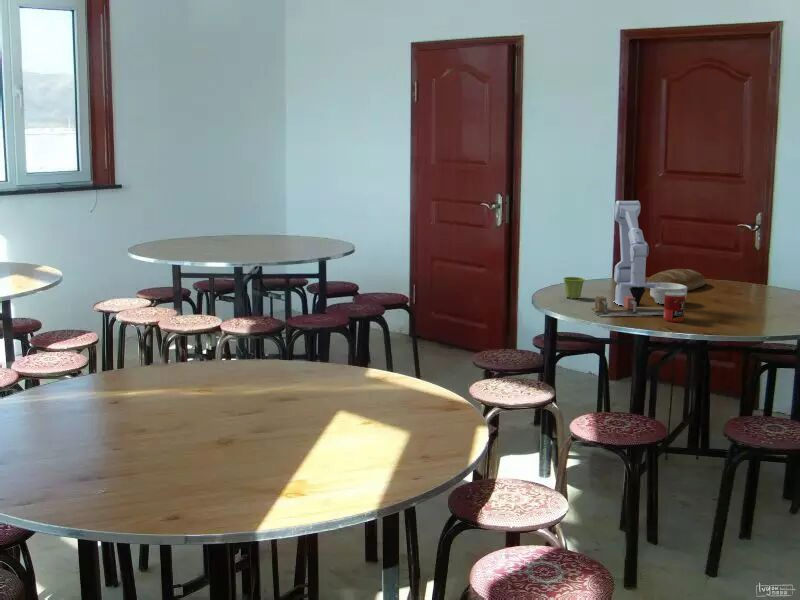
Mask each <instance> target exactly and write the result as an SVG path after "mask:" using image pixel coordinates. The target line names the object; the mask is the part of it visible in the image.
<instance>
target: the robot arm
mask: <svg viewBox="0 0 800 600" xmlns="http://www.w3.org/2000/svg"><path fill="white" fill-rule="evenodd" d="M641 208H642V207H641V202H640V201H639V200H616V202H615V203H614V207H613V210H614V213H613V214H614V221H615V222H617V223H618V226H619V243H620V244H619V245H620V261H619V262H617V264H615V266H614V273H613V278H614V282H615V283H616V286H615V291H614V300H612V302H613V303H614V302H615V303H616V305H617V304H618V305H617V306H619V305H622V306H621V307H624V296H632V297H634V298H635V302H637V304H636V307H640V303H641V301H642V300H641V299H642V297H643V295H644V293H646V289H649V288H655V286H656V283H647V282H646V269H647V267H646V264H647V258H648V256H649V254H650V253H649V249H650V247H649V245H648V243H647V241H645V237H644V234H643V230H642V229H640V228H639V227H640V226H639V221H638V217H639V215H640V214H641ZM615 303H614V304H615Z"/></svg>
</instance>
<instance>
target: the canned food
mask: <svg viewBox="0 0 800 600" xmlns="http://www.w3.org/2000/svg"><path fill="white" fill-rule="evenodd" d="M685 306H686V298H685V293H683V292H675V291H670V292H665V300H664V305H663V307H664V316H663V320H664V321H665V322H667V321H669V322H668V323H675V322H678V323H682V322H684V320H685Z"/></svg>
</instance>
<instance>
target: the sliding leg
mask: <svg viewBox="0 0 800 600" xmlns="http://www.w3.org/2000/svg"><path fill="white" fill-rule="evenodd" d="M636 304H637V302H635V298H634V297H632V296H624V306H623V307H625V308H627V309H634V310H633V311H634V312H636V307H637V306H636Z"/></svg>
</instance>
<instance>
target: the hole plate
mask: <svg viewBox="0 0 800 600" xmlns="http://www.w3.org/2000/svg"><path fill="white" fill-rule="evenodd" d="M595 313H597V314H598V315H621V316H636V317H643V316H642V315H650V316H649V317H652V316H651V315H664V311H637V312H595Z"/></svg>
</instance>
